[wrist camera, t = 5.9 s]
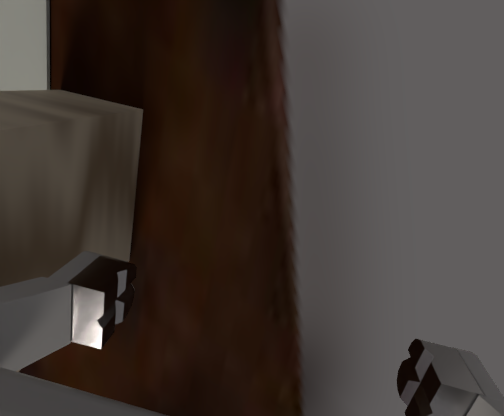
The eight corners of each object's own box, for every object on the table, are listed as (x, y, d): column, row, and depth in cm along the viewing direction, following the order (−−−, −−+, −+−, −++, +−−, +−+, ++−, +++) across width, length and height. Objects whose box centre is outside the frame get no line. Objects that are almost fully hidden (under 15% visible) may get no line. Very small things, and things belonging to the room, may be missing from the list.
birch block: (60, 89, 16) (-295, 95, 6) (143, 109, 15) (-101, 144, 6) (60, 241, 19) (-186, 399, 9) (129, 260, 18) (-51, 441, 9)
